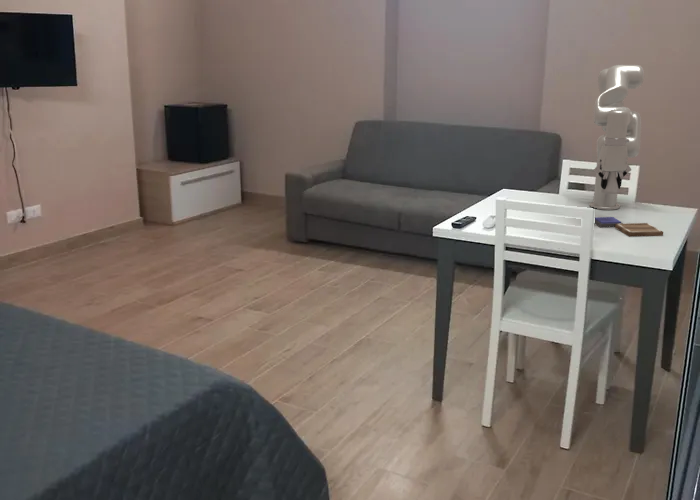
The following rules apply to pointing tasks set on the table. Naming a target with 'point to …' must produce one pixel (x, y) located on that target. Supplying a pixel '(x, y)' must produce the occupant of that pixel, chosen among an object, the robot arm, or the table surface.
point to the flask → (611, 184)
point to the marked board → (638, 229)
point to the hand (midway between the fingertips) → (610, 187)
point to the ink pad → (606, 222)
